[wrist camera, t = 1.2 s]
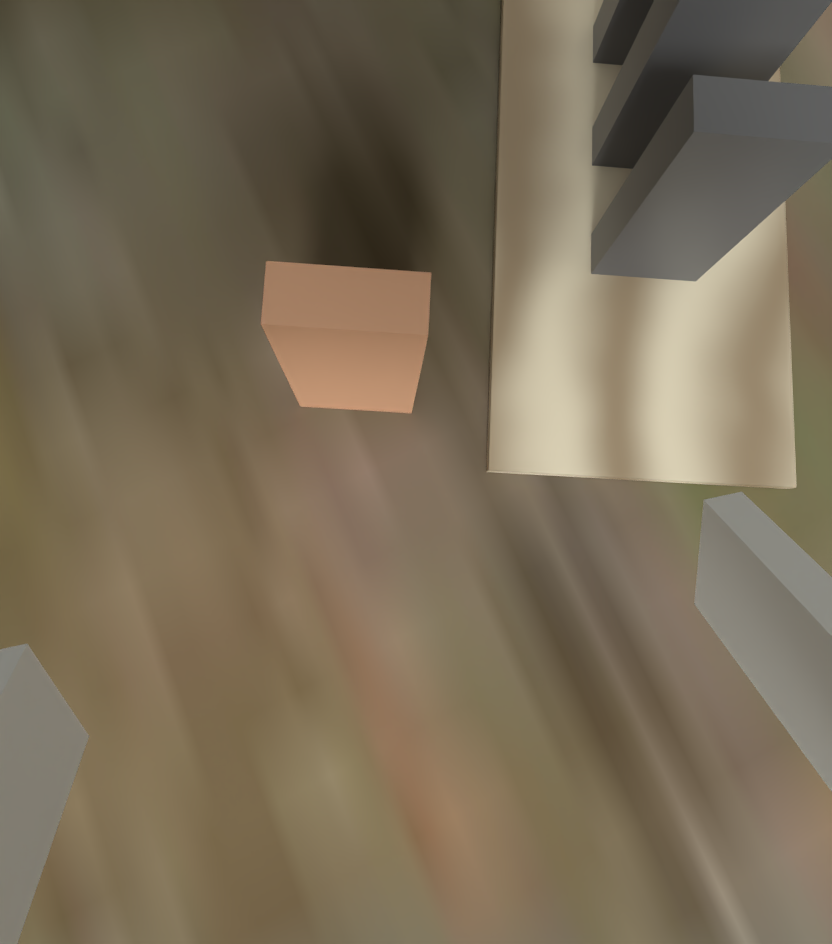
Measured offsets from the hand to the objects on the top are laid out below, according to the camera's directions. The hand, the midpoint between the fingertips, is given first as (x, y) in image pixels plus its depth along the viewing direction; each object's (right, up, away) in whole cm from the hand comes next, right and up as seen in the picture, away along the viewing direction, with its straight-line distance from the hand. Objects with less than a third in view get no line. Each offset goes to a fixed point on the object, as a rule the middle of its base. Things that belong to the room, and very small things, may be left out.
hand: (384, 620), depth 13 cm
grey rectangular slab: (+12, +18, +19) cm, 29 cm away
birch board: (+11, +15, +19) cm, 26 cm away
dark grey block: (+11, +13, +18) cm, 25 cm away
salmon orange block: (-2, +7, +17) cm, 18 cm away
